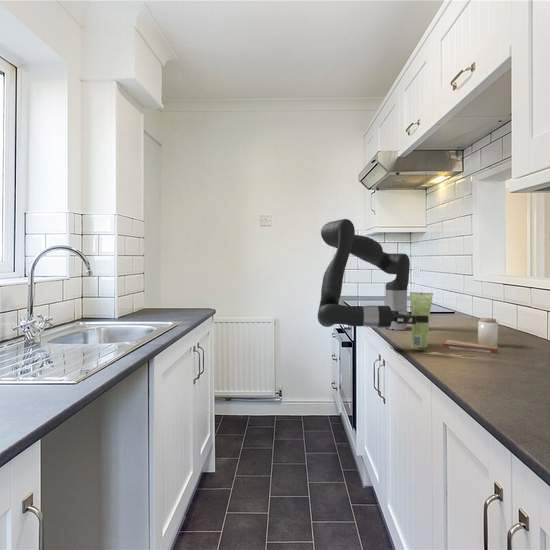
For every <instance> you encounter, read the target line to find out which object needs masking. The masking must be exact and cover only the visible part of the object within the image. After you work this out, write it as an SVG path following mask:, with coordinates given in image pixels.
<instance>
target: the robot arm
mask: <svg viewBox="0 0 550 550" xmlns="http://www.w3.org/2000/svg"><path fill="white" fill-rule="evenodd" d="M355 233H356V230H355V225H354V223H353V222H352V221H351V220H350V219H348V218H343V219H338V220H332V221H329V222H327V223H325V224H324V225H322V227H321V230H320V236H321V238H322V240H323V242H324V243H325V245H328V246H329V247H331V248H336V252H335V254H334V256H333V258H332V259H331V261H330V263H329V264H328V266H327V267H326V269H325V271H324V274H323V277H322V285H321V290H320V301H319V305H318V306H319V307H318V312H317V320H318V323H319V324H320V325H321V326H322V327H325V328H329V327H333V326H334V325H347V326H348V327H366V328H379V329H380V328H384V329H387V328H388V330H392V329H394V330H395V331H404V330H407V327H408V326H407V325H412V324H416V323H428V316H416V315H411V311H408V288H409V287H408V286H409V282H410V270H411V269H410V267H411V264H410V257H409V255H408V254H406V253H387V252H385V251H384V250H383V247H382V245H381V243H379V242H378V241H377V240H374V239H373V238H371V237H369V236H364V235H359V234H355ZM350 255H353V256H354V257H356V258H358V259H360V260H362V261H364V262H366V263H369V264H371V265H372V266H375V267H377V268H379V270H381V271H382V272H384V273H385V274H388V275H396V276H395V278H394V279H393V280H392V281H391V280H390V281H389V282H386V284H385V291H384V292H385V299H384V300H385V303H384V305H372V304H371V305H343V304H339V303H340V299H341V296H342V295H341V294H342V288H343V283H344V275H345V270H346V267H347V263H348V259H349V257H350ZM394 330H393V331H394Z"/></svg>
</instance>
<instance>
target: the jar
mask: <svg viewBox="0 0 550 550" xmlns="http://www.w3.org/2000/svg"><path fill="white" fill-rule="evenodd" d="M498 335H499V322H498V321H497V318H493V317H492V318H491V317H480V320H478V324H477V342H478V344H479V345H482V346H491V347H494V346H497V347H498V339H499V338H498V337H499V336H498Z"/></svg>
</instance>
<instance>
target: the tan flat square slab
mask: <svg viewBox="0 0 550 550" xmlns="http://www.w3.org/2000/svg"><path fill="white" fill-rule="evenodd" d="M442 348H445V349H451V350H462V351H471V352H480V353H488V354H498V353H499V349H498V348H499V347H498V345H497V346H494V347H491V346H482V345H479V344H478V341H477V342H476V341H465V340H455V339H447V340H446V341H445V343H442Z"/></svg>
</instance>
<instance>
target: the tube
mask: <svg viewBox="0 0 550 550" xmlns="http://www.w3.org/2000/svg"><path fill="white" fill-rule="evenodd" d="M433 296H434V293H433V292H417V291H415V292H414V291H409V298H410V299H409V300H410V312H411V315H416V316H428V323H416V324H411V349H413V350H415V351H417V350H418V351H420V349H419V348H427V347H428V338H429V327H430V316H431V306H432V302H433V301H432V300H433Z"/></svg>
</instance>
